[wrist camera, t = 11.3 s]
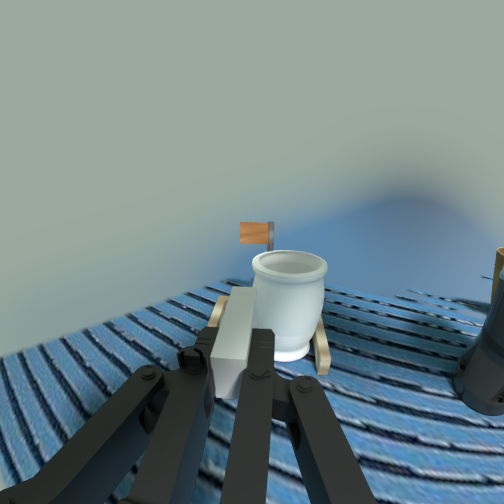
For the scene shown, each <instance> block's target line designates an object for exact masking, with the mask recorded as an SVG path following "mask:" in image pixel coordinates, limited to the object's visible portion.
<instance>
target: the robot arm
mask: <svg viewBox="0 0 504 504" xmlns="http://www.w3.org/2000/svg"><path fill="white" fill-rule="evenodd" d="M499 277H500V279H499V283H498V286H497V289H496V293H495V296H494V299H493V302H492V304H491V307H490V310H489V312H488V315H487V317H486V320H485V323H484V325H483V328H482V330H481V332H480V333H479V335H478V336H477V337H476V338H475V339H474V341H473V342H472V343H471V344H470V345H469V346H468V347H467V349H466V350H465V351H464V352H463V353H462V354H461V355H460V357H459V359H458V361H457V363H456V365H455V367H454V369H453V372H452V381H453V385H454V388H455V390H456V392H457V393H458V395H459V396H460V398H461V399H462V400H463V401H464V402H465V403H466V404H467V405H468V406H470V407H471V408H473V409H474V410H476V411H478V412H480V413H483V414H486V415H493V416H496V415H502V414H504V265H503V269H502V271H501V272H500V275H499ZM274 352H275V334H274V332H273V331H272V329H260V328H257V287H233V288H232V291H231V294H230V297H229V300H228V303H227V306H226V309H225V312H224V315H223V318H222V322H221V325H220V327H209V326H206V327H205V328H203V329H202V330H201V331H200V333H199V335H198V338H197V340H196V342H195V345H194V346H189V347H185V348H183V349H181V350H180V351H179V352H178V353H177V357H178V362H179V366H180V368H179V369H177V370H173V371H164V372H162V370H161V368H160V367H158V366H157V365H152V364H150V365H144V366H141V367H140V368H139V369H137V370H136V371H135V372H134V373H133V374H132V375H131V376H130V377H129V379H128V380H127V381H126V382H125V383H124V384H123V385H122V386H121V387H120V388H119V389H118V390H117V391H116V392H115V393H114V394H113V395H112V396H111V397H110V398H109V399H108V400H107V401H106V402H105V403H104V404H103V405H102V406H101V407H100V409H99V410H98V411H97V412H96V413H95V414H94V415H93V416H92V417H91V418H90V419H89V420H88V421H87V422H86V423H85V424H84V425H83V426H82V427H81V428H80V429H79V430H78V431H77V432H76V433H75V434H74V435H73V436H72V438H71V439H70V440H69V441H68V442H67V443H66V444H65V445H64V446H63V447H62V448H61V449H60V450H59V451H58V452H57V453H56V454H55V455H54V456H53V457H52V458H51V459H50V460H49V461H48V462H47V463H46V464H45V466H44V467H43V468H42V469H41V470H40V471H39V472H38V473H37V474H36V475H35V476H34V477H33V478H31V479H28V480H26V481H24V482H21V483H19V484H17V485H14V486H12V487H9V488H7V489H4V490H2V491H0V504H103V503H104V502H105V501H106V499H107V498H108V497H109V496H110V494H111V493H112V492H113V491H114V489H115V488H116V487H117V486H118V484H119V483H120V482H121V481H122V479H123V478H124V477H125V475H126V474H127V473H128V472H129V470H130V469H131V468H132V466H133V465H134V464H135V462H136V461H137V460H138V458H139V457H140V456H141V455H142V453H143V452H144V451H145V449H146V448H147V449H146V451H145V454H144V457H143V459H142V462H141V464H140V467H139V469H138V472H137V474H136V477H135V480H134V482H133V485H132V487H131V490H130V493H129V495H128V496H127V497H126V498H124V499H121V500H120V501H119V502H118V503H117V504H190V503H191V499H192V495H193V491H194V487H195V483H196V479H197V475H198V471H199V466H200V462H201V458H202V454H203V450H204V446H205V442H206V438H207V434H208V430H209V425H210V421H211V417H212V413H213V409H214V399H213V398H214V394H215V393H216V397H217V398H227V399H238V405H237V411H236V417H235V422H234V428H233V434H232V439H231V445H230V451H229V456H228V462H227V467H226V473H225V478H224V483H223V489H222V494H221V500H220V504H265V502H266V490H267V477H268V464H269V450H270V434H271V418H272V419H276V420H279V421H282V422H285V424H286V427H287V431H288V434H289V437H290V440H291V444H292V447H293V450H294V453H295V456H296V459H297V462H298V466H299V469H300V472H301V475H302V478H303V481H304V484H305V487H306V490H307V493H308V497H309V500H310V503H311V504H377V502H376V500H375V498H374V496H373V494H372V492H371V489H370V487H369V485H368V483H367V481H366V479H365V477H364V475H363V473H362V470H361V468H360V466H359V464H358V462H357V460H356V458H355V456H354V453H353V451H352V449H351V447H350V445H349V443H348V441H347V439H346V437H345V435H344V432H343V430H342V428H341V426H340V424H339V422H338V420H337V418H336V416H335V414H334V411H333V409H332V407H331V405H330V403H329V401H328V399H327V397H326V395H325V393H324V390H323V388H322V386H321V384H320V383H319V381H318V380H317V379H315V378H313V377H311V376H298V377H295V378H294V379H293V380H288V379H285V378H282V377H281V376H279V375H278V374H277V373H276V372H275V370H274Z"/></svg>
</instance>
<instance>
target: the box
mask: <svg viewBox="0 0 504 504" xmlns="http://www.w3.org/2000/svg"><path fill="white" fill-rule="evenodd" d="M273 240H274V222H268V223H256V222H240V243H257V244H268V246H267V252H270V251H273ZM229 297H230V296H219V297H218V300H217V302H216V305H215V307H214V310H213V312H212V315H211V317H210V320H209V322H208V325H207V326H209V327H220V325H221V322H222V318H223V315H224V312H225V309H226V306H227V303H228V300H229ZM312 340H313V346H314V353H315V360H316V367H317V374H318V375H328V371H329V367H330V363H331V356H330V352H329V347H328V343H327V338H326V334H325V330H324V325H323V321H322V317H321V315H320V318H319V321H318V323H317V327H316V330H315V332H314V334H313V336H312Z"/></svg>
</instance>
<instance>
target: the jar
mask: <svg viewBox="0 0 504 504" xmlns="http://www.w3.org/2000/svg"><path fill="white" fill-rule="evenodd" d="M252 264H253V265H252V267H253V270H254V271H255V273H256V275H255V278H254V282H253V287H257V328H260V329H272V331H273V332H274V334H275V352H274V361H279V362H290V361H295V360H298V359H300V358H302V357H304V356H305V355H306V354H307V353H308V351H309V348H310V344H309V341H310V339H311V338H312V336H313V334H314V332H315V330H316V327H317V323H318V321H319V318H320V315H321V312H322V308H323V302H324V280H323V277H324V276H325V275H326V273H327V269H328V268H327V263H326V261H325V260H324V259H322V258H320V257H318V256H316V255H313V254H310V253H306V252H301V251H292V250H278V251H270V252H265V253H262V254H259V255H257V256H256V257H255V258H254V259H253V260H252Z"/></svg>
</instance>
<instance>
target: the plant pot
mask: <svg viewBox="0 0 504 504" xmlns="http://www.w3.org/2000/svg"><path fill="white" fill-rule="evenodd" d="M503 265H504V248H502V247H500V248H497V254H496V261H495V268H494V276H493V286H492V296H491V304H492V302H493V299H494V296H495V293H496V289H497V286H498V283H499V279H500V277H499V275H500V272H501V271H502V269H503Z"/></svg>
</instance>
